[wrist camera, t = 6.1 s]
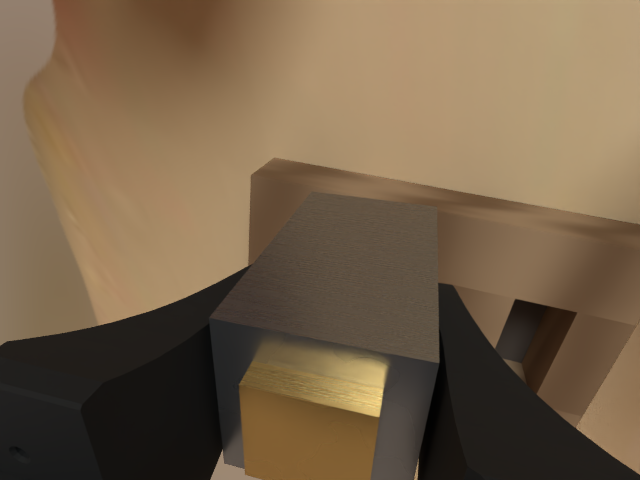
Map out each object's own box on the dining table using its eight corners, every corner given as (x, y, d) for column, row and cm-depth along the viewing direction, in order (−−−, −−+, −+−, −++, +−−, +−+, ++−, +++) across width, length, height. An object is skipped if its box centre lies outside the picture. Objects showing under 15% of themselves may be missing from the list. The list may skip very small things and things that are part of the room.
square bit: (437, 206, 13) (439, 391, 6) (418, 312, 14) (404, 544, 8) (311, 191, 13) (191, 339, 7) (308, 293, 15) (211, 489, 9)
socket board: (642, 225, 18) (677, 257, 15) (543, 412, 23) (556, 459, 21) (274, 157, 21) (250, 175, 18) (264, 338, 26) (245, 371, 24)
